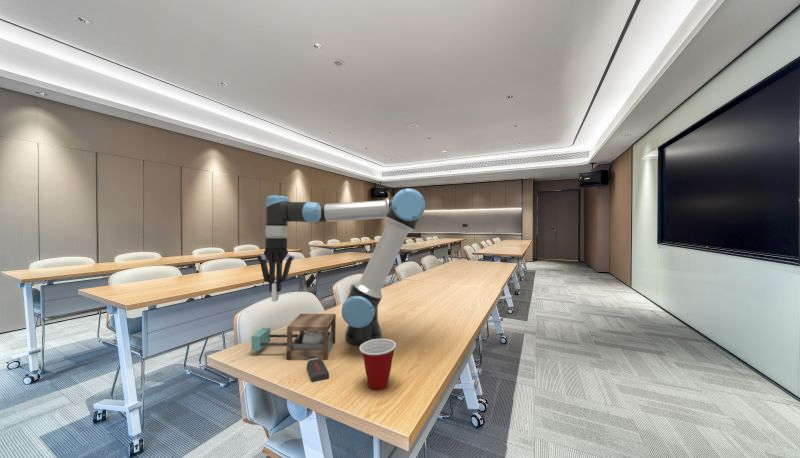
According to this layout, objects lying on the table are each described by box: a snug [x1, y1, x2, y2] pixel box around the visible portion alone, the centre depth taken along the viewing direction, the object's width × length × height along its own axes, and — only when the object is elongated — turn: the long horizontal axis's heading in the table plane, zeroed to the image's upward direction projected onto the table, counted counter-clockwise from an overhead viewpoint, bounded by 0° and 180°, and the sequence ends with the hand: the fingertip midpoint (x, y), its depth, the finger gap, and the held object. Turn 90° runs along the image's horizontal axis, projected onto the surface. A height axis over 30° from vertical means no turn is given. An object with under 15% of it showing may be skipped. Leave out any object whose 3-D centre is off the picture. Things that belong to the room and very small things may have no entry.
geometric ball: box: [302, 331, 323, 344], centre depth 107 cm, size 8×8×8 cm
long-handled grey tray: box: [250, 327, 334, 353], centre depth 107 cm, size 27×13×7 cm, turn 93°
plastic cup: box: [359, 338, 397, 391], centre depth 85 cm, size 11×11×12 cm
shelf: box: [286, 313, 337, 361], centre depth 107 cm, size 14×15×12 cm
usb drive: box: [306, 358, 330, 383], centre depth 92 cm, size 5×12×3 cm, turn 27°
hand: (275, 300), depth 107 cm, fingers closed
